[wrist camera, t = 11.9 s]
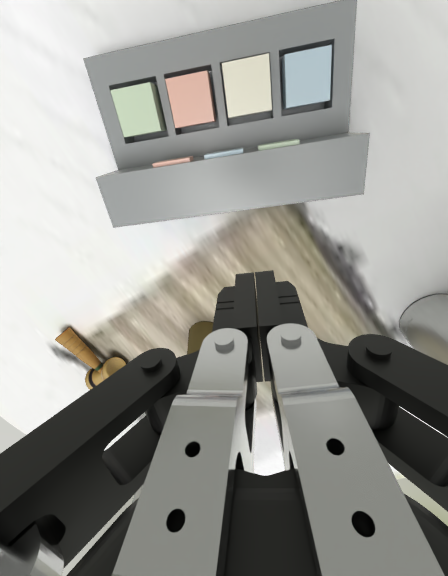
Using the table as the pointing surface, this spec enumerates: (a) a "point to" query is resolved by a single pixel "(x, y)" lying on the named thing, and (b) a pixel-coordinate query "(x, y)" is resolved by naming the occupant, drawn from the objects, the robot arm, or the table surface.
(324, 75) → the key blue
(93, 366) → the kendama
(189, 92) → the key coral
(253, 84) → the key cream
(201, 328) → the olive ball-ended cylinder
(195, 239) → the table surface
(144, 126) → the key sage
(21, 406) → the table surface
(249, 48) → the keypad
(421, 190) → the table surface
